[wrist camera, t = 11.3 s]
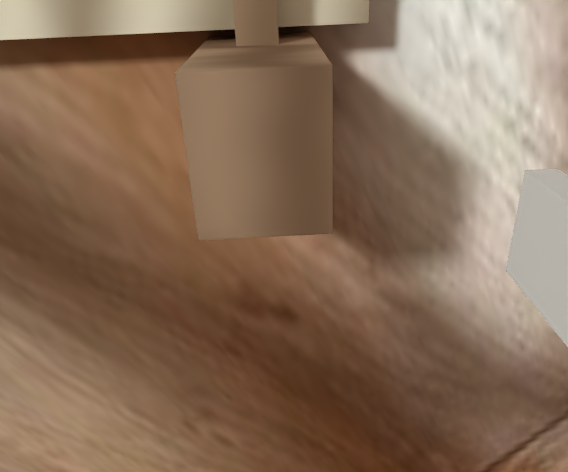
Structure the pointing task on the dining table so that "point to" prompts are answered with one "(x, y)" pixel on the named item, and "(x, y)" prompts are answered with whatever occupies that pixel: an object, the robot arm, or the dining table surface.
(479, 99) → the dining table surface
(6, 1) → the board
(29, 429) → the dining table surface
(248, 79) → the brown block with handle
